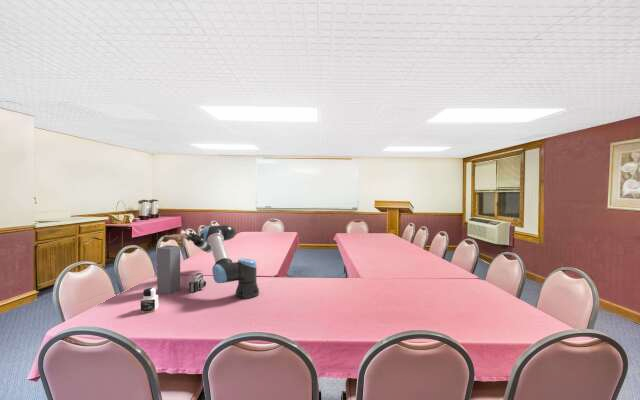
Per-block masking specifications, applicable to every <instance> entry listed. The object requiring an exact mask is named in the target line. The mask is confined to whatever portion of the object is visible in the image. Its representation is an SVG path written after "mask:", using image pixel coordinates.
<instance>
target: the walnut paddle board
mask: <svg viewBox="0 0 640 400" xmlns="http://www.w3.org/2000/svg"><path fill="white" fill-rule="evenodd" d="M188 236H189V235H187V234H186V233H183V234H181V233H179V234H177V233H176V234H175V233H174V234H169V235H163V237H162V238H163V240H169V241H170V240H172V241H173V240H174V241H175V240H176V241H179V240H183V239H185V238H188Z"/></svg>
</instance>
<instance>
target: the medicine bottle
mask: <svg viewBox="0 0 640 400" xmlns="http://www.w3.org/2000/svg"><path fill="white" fill-rule="evenodd" d="M156 292H157V288H155V287H148V288H145V289H144V290H143V297H142V299H140V313H143V314H144V313H151V312H152V313H153V312H156V311H157V309H158V307H159V295H158V294H157V293H156Z"/></svg>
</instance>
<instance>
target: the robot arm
mask: <svg viewBox="0 0 640 400" xmlns="http://www.w3.org/2000/svg"><path fill="white" fill-rule="evenodd" d="M183 233H186V234H187V235H189V236H188V238H184V239H185V240H187V241H188V242H192V243H193V244H194V247H195V246H196V247H197V248H198V249H199V250H202V251H203V252H206V253H207V254H208V253H211V252H212V255H213V259H214V262H215V263H214V264H213V266H212V277H213V280H214V282H215V283H217V284H225V283H231V282H237V283H238V284H237V285H236V286H237V287H236V290H235V297H236V298H238V299H243V300H244V299H252V298H256V297H258V296H259V295H260V289H259V286H258V283H257V270H258V269H257V268H258V266H257V262H256V260H254V259H251V258H239V259H238V261H235V262H233V260H232V259H231V258H229V255H228V252H227V250H226V247H225V245H224V241H230V240H232V239H234V238H235V237H236V235H237V229H236V228H235V227H234V226H232V225H227V224H224V225H222V224H221V225H207V226H204V229H201V230H200V231H199V234H197V233H195V232H191V231H189V230H188V229H186V231H185V230H183V229H181V230H180V234H183Z"/></svg>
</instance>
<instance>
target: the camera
mask: <svg viewBox="0 0 640 400" xmlns="http://www.w3.org/2000/svg"><path fill="white" fill-rule="evenodd" d="M188 281H189V282H188V293H190V294H195V293H197V292H198V291H200V289H203V288H205V287H206V285H207V281H206V280H205V279H204V273H203V272H197V273H196V274H194V275H192V276H191V277H190V278H189V280H188Z"/></svg>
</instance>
